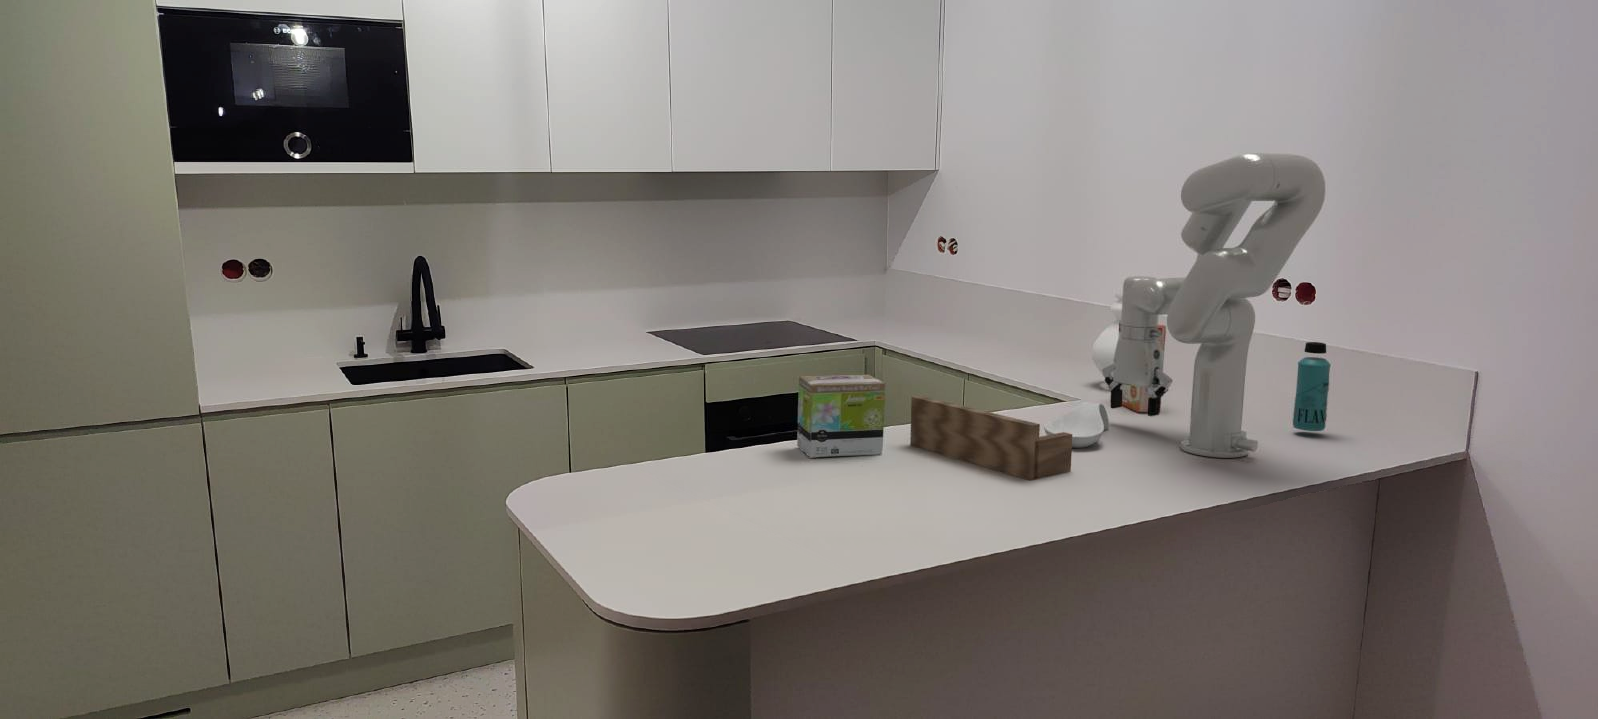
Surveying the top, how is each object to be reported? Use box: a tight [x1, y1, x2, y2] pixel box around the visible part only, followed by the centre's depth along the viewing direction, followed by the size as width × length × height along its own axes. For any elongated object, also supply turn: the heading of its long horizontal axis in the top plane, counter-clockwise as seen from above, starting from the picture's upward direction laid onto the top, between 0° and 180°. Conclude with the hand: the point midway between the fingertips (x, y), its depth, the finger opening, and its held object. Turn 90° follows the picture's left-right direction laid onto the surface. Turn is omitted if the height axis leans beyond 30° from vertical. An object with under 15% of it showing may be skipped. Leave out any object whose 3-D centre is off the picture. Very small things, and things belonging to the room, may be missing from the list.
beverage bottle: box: [1292, 341, 1331, 432], centre depth 220 cm, size 6×7×20 cm
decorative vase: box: [1091, 292, 1123, 392], centre depth 273 cm, size 18×18×25 cm
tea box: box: [796, 374, 886, 459], centre depth 204 cm, size 15×10×15 cm, turn 105°
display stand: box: [909, 395, 1073, 481], centre depth 200 cm, size 32×11×10 cm, turn 35°
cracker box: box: [1118, 319, 1167, 414], centre depth 248 cm, size 14×6×21 cm, turn 6°
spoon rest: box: [1043, 400, 1110, 449], centre depth 216 cm, size 24×12×7 cm, turn 148°
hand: (1134, 411), depth 226 cm, fingers open, 9 cm apart
